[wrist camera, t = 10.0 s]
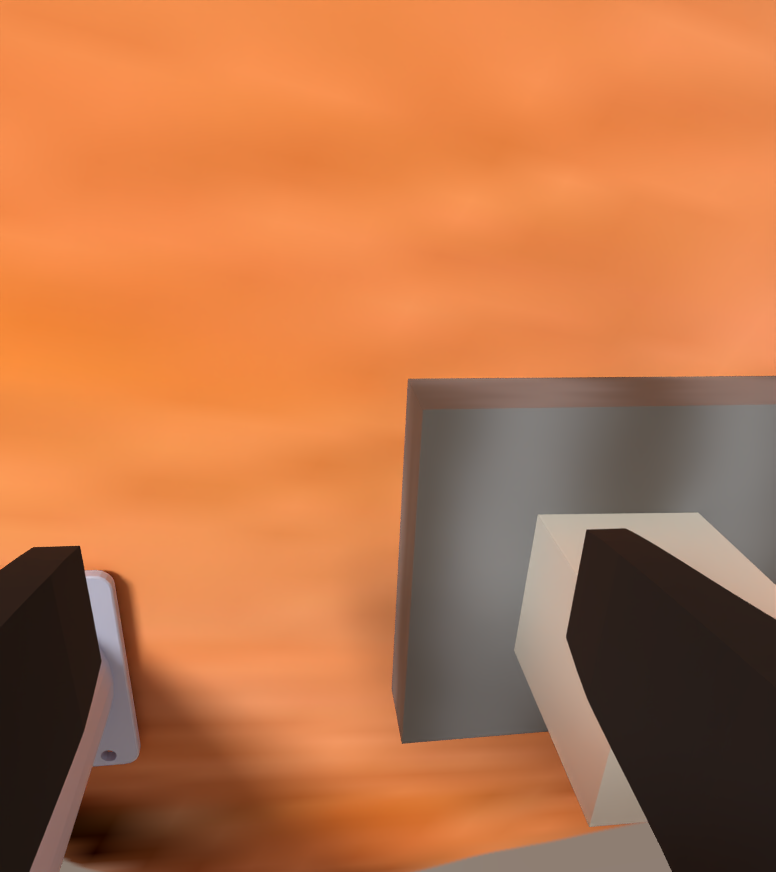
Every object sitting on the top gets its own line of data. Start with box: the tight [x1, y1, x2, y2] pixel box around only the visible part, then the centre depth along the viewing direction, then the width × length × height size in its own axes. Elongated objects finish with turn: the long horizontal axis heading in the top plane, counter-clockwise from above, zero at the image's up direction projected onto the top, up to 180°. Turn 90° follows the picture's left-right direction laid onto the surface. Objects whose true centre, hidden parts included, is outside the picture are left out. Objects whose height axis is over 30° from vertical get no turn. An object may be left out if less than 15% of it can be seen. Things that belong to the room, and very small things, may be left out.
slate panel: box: [392, 376, 776, 744], centre depth 22 cm, size 12×12×3 cm
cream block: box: [514, 512, 776, 827], centre depth 18 cm, size 5×5×6 cm
